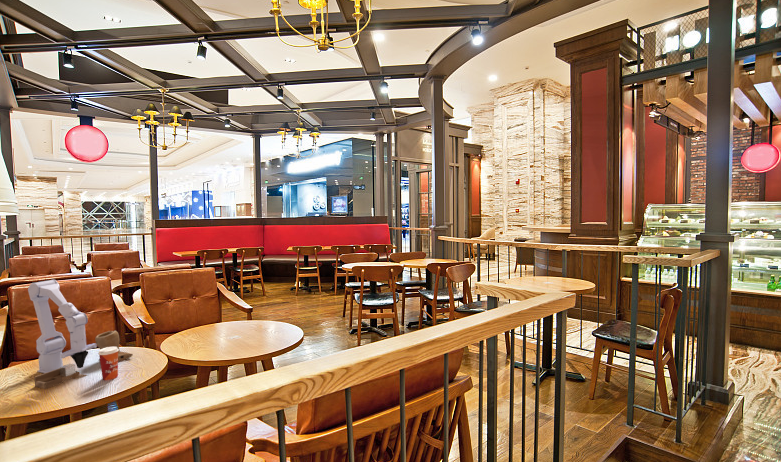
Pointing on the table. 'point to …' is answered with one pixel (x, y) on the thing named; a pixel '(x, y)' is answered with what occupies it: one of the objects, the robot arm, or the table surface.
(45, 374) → the walnut cabinet
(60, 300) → the robot arm
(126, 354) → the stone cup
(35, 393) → the table surface
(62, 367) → the steel cube
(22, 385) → the table surface
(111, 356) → the paper cup
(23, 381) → the table surface
